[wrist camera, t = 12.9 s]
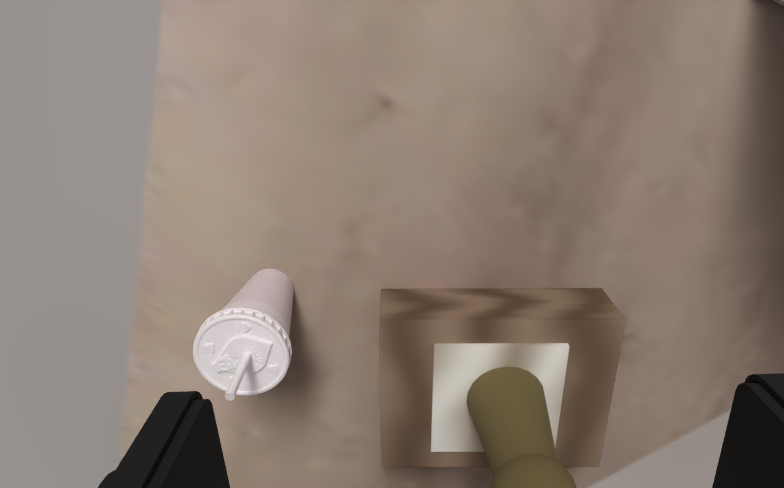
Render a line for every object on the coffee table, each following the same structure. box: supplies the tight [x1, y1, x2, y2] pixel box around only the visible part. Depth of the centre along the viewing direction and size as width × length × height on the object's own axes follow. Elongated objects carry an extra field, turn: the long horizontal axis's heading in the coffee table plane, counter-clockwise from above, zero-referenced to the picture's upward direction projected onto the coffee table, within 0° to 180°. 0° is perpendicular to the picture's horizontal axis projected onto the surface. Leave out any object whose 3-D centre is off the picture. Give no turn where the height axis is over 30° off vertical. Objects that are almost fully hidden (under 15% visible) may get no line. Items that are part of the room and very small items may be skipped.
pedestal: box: [380, 288, 626, 467], centre depth 45 cm, size 18×14×5 cm
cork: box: [466, 367, 576, 488], centre depth 37 cm, size 6×6×11 cm
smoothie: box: [193, 269, 294, 400], centre depth 38 cm, size 6×6×14 cm
